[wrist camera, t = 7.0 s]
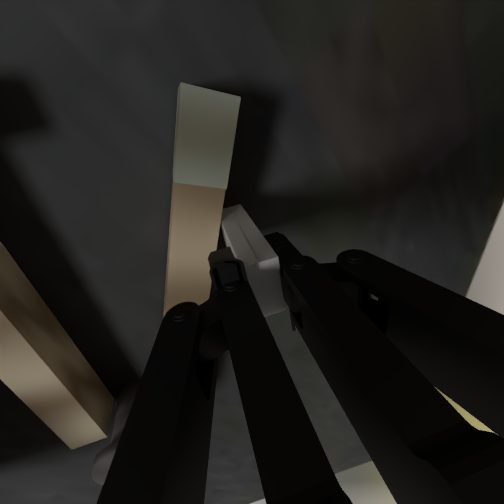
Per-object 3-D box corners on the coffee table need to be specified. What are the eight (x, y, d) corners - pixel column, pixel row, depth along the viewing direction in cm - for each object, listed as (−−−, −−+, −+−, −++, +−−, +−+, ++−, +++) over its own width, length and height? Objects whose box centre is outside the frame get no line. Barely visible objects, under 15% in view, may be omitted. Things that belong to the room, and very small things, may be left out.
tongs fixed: (168, 397, 24) (168, 470, 19) (95, 423, 23) (75, 507, 18) (-17, 64, 12) (-145, 33, 7) (-186, 92, 11) (-467, 80, 6)
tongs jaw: (188, 388, 23) (190, 424, 21) (157, 391, 23) (155, 429, 20) (227, 99, 14) (241, 96, 12) (178, 87, 14) (180, 82, 11)
